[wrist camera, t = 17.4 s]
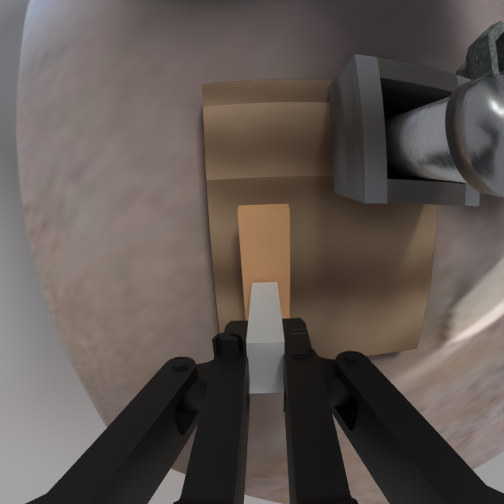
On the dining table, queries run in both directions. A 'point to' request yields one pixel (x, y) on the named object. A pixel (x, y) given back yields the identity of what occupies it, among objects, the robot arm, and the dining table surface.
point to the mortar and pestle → (485, 54)
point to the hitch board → (330, 198)
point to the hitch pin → (453, 138)
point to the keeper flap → (265, 250)
